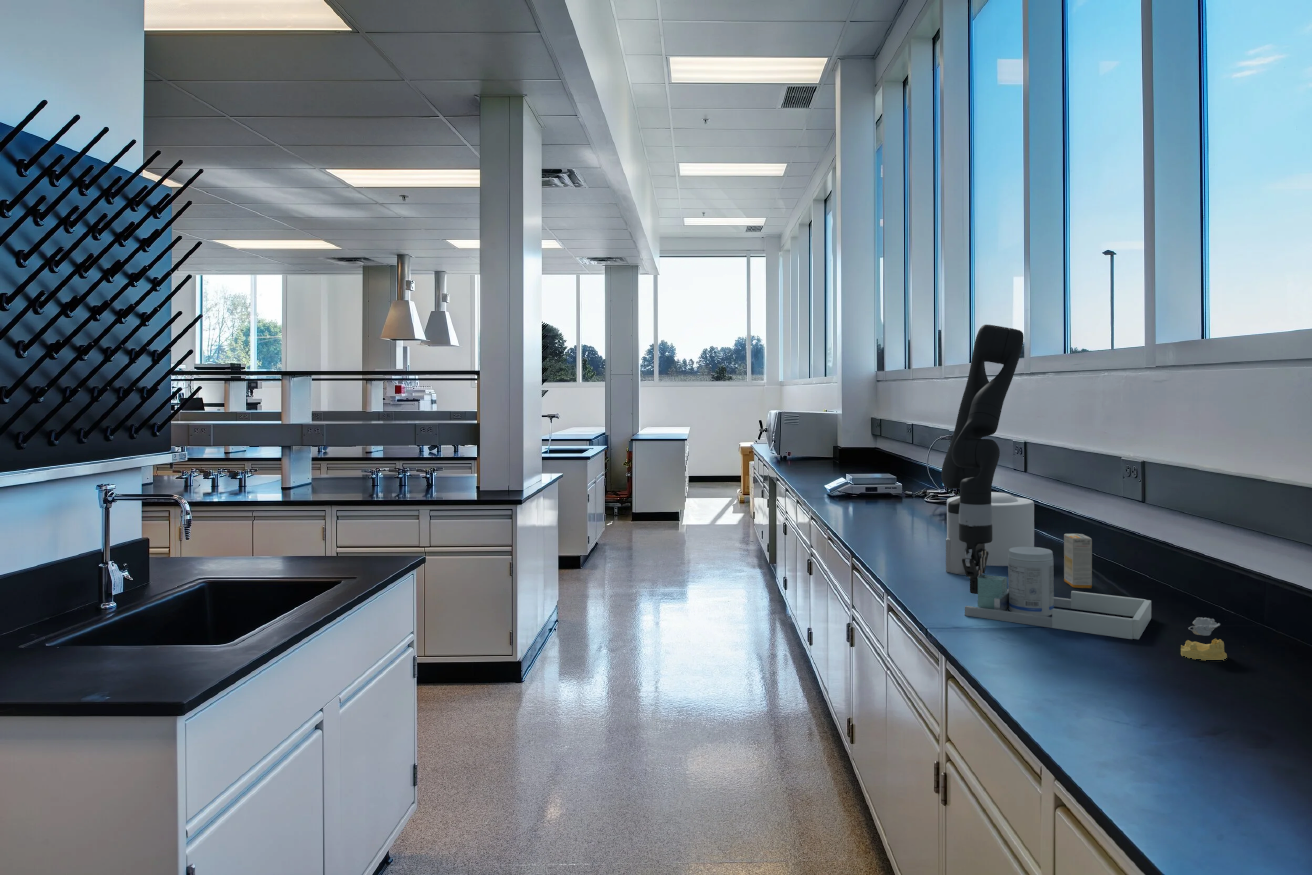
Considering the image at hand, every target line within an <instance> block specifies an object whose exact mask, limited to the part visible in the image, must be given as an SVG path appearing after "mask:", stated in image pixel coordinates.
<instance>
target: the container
mask: <svg viewBox="0 0 1312 875" xmlns="http://www.w3.org/2000/svg"><path fill="white" fill-rule="evenodd" d="M958 498H960V495H957V496H953V497H952V496H951V497H949V498H947V500H946V539H947V538H948V504H949V502H951V501H953V500H955V499H958ZM991 506H992V542H990V543H986V544H985V549H986V551H988V553H989V555H988V559H987V563H986V566H988V567H989V566H990V567H991V566H992V567H1008V555H1009V549H1010V548H1014V547H1035V502H1034V501H1033V500H1032V499H1029V498H1025V497H1018V496H1014V495H1012V494H1010V493H1006V492H1000V491H999V492H997V491H991Z"/></svg>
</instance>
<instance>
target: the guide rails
mask: <svg viewBox="0 0 1312 875" xmlns="http://www.w3.org/2000/svg"><path fill="white" fill-rule="evenodd" d="M1054 608H1064V609H1070V610H1071V598H1067V597H1066V598H1065V597H1057V596H1054ZM964 616H967V617H975V618H980V619H986V620H987V619H988V620H994V621H1002V622H1007V623H1009V622H1010V623H1015V624H1016V623H1017V624H1021V625H1022V624H1023V625H1030V626H1036V627H1042V628H1043V627H1044V628H1051V629H1053V628H1052V616H1047V617H1046V616H1039V615H1031V614H1024V613H1017V612H1011V611H1010V610H1007V611H1002V610H994V609H991V608H983V607H978V606H971V605H965V606H964Z"/></svg>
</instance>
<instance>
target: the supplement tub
mask: <svg viewBox="0 0 1312 875" xmlns="http://www.w3.org/2000/svg"><path fill="white" fill-rule="evenodd" d="M1053 554H1054V553H1053V550H1051V549H1049V548H1045V547H1037V546H1034V547H1014V548H1010V549H1009V555H1008V566H1007V572H1008V577H1007V582H1008V583H1007V584H1008V588H1009V610H1008V611H1009V612H1017V613H1024V614H1031V615H1039V616H1046V617H1051V616H1052V609H1053V608H1054V609H1055V607H1054V597H1055V591H1054V589H1055V588H1054V586H1055V583H1054V582H1055V580H1054V567H1055V566H1054V555H1053Z"/></svg>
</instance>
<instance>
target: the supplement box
mask: <svg viewBox="0 0 1312 875" xmlns="http://www.w3.org/2000/svg"><path fill="white" fill-rule="evenodd" d="M1063 557H1064V558H1063V577H1064V578H1063V582H1064V583H1066V584H1068V585H1070V587H1072V588H1074V589H1075V588H1076V589H1092V587H1093V572H1092V571H1093V570H1092V569H1093V539H1092V538H1091V537H1090V536H1088V535H1085V534H1083V533H1064V534H1063Z"/></svg>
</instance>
